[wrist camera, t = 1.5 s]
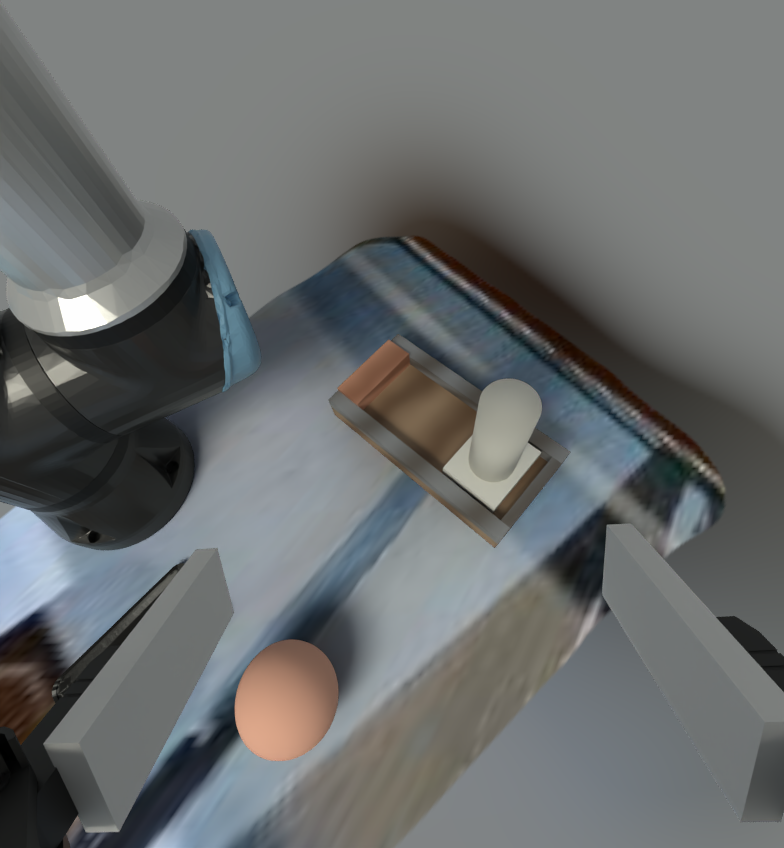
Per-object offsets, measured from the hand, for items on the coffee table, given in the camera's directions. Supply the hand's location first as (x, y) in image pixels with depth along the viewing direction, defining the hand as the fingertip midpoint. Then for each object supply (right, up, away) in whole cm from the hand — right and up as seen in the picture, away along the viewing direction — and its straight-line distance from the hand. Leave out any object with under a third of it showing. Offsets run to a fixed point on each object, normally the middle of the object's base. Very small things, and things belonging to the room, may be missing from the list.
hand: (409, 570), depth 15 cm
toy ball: (-8, -18, +23) cm, 30 cm away
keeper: (+9, +1, +28) cm, 29 cm away
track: (+5, +3, +32) cm, 32 cm away
